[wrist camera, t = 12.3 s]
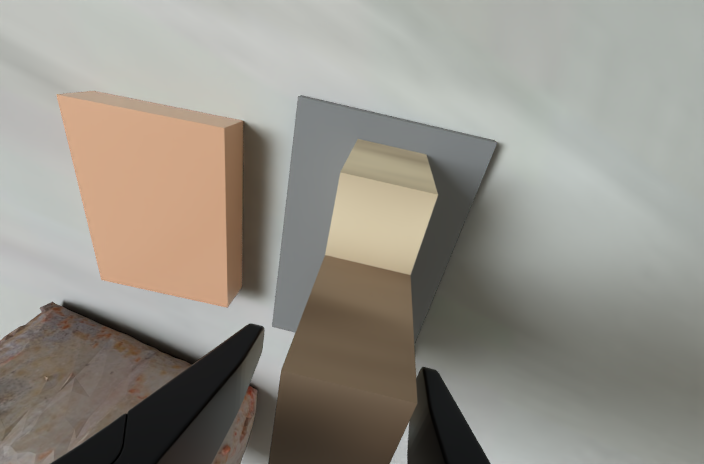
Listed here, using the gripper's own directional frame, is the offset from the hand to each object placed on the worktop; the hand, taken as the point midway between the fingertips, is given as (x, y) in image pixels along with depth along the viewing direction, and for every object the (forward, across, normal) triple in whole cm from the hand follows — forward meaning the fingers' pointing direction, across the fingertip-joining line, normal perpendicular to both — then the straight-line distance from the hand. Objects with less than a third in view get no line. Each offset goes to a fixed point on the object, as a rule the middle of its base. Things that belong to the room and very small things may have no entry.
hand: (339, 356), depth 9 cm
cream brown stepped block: (+6, 0, 0) cm, 6 cm away
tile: (+6, +11, 0) cm, 13 cm away
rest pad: (+6, 0, 0) cm, 6 cm away
